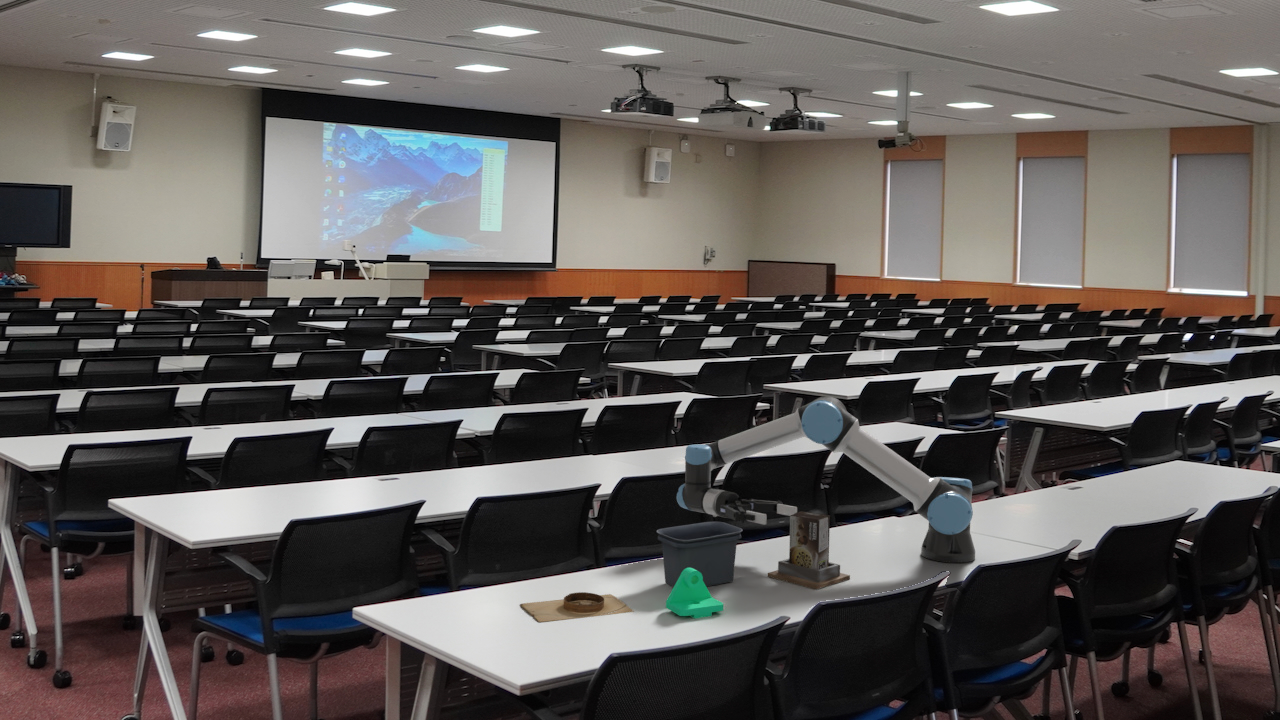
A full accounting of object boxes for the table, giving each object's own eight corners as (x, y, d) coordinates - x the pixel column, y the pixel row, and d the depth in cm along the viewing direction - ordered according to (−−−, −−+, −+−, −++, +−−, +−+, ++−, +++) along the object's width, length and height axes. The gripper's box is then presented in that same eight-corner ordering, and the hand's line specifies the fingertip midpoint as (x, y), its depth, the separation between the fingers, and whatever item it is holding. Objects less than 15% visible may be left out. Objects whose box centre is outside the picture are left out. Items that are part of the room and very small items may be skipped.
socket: (801, 566, 322) (802, 552, 321) (849, 578, 310) (850, 564, 310) (767, 576, 311) (768, 561, 311) (815, 589, 300) (816, 574, 299)
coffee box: (829, 574, 311) (831, 515, 309) (818, 579, 305) (820, 519, 304) (799, 568, 316) (801, 510, 314) (787, 573, 311) (789, 514, 309)
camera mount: (680, 621, 273) (682, 578, 272) (665, 611, 279) (666, 570, 278) (724, 614, 278) (726, 572, 277) (708, 606, 285) (709, 565, 284)
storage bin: (679, 595, 292) (680, 540, 291) (646, 580, 305) (647, 527, 304) (746, 584, 304) (748, 530, 302) (711, 570, 317) (712, 518, 315)
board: (612, 596, 293) (613, 584, 292) (637, 614, 279) (638, 601, 278) (518, 607, 282) (518, 594, 282) (539, 626, 268) (539, 612, 268)
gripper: (750, 510, 343) (808, 522, 328) (693, 523, 325) (752, 536, 310) (750, 485, 342) (808, 496, 327) (693, 496, 325) (752, 509, 310)
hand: (781, 515), depth 319 cm, fingers open, 13 cm apart
